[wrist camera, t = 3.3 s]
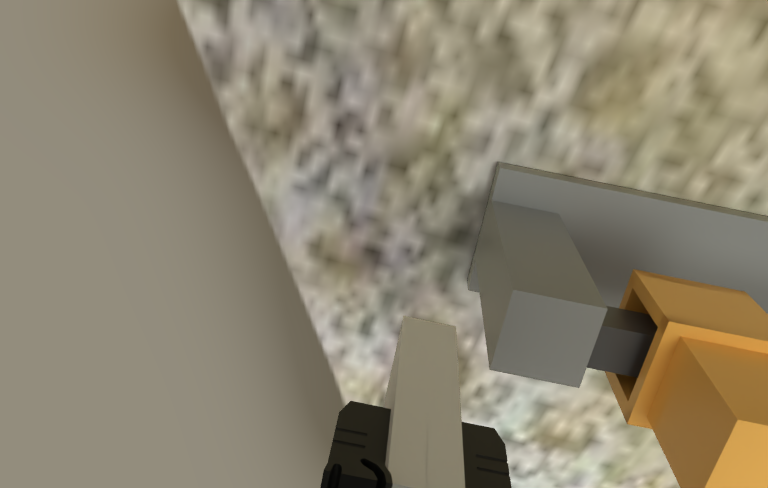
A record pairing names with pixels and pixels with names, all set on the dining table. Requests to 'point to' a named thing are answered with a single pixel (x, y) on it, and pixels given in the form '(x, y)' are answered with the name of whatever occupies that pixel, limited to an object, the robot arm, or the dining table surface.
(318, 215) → the dining table surface
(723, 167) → the dining table surface
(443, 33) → the dining table surface
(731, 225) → the linear slide rail
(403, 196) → the dining table surface
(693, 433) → the sleeve
